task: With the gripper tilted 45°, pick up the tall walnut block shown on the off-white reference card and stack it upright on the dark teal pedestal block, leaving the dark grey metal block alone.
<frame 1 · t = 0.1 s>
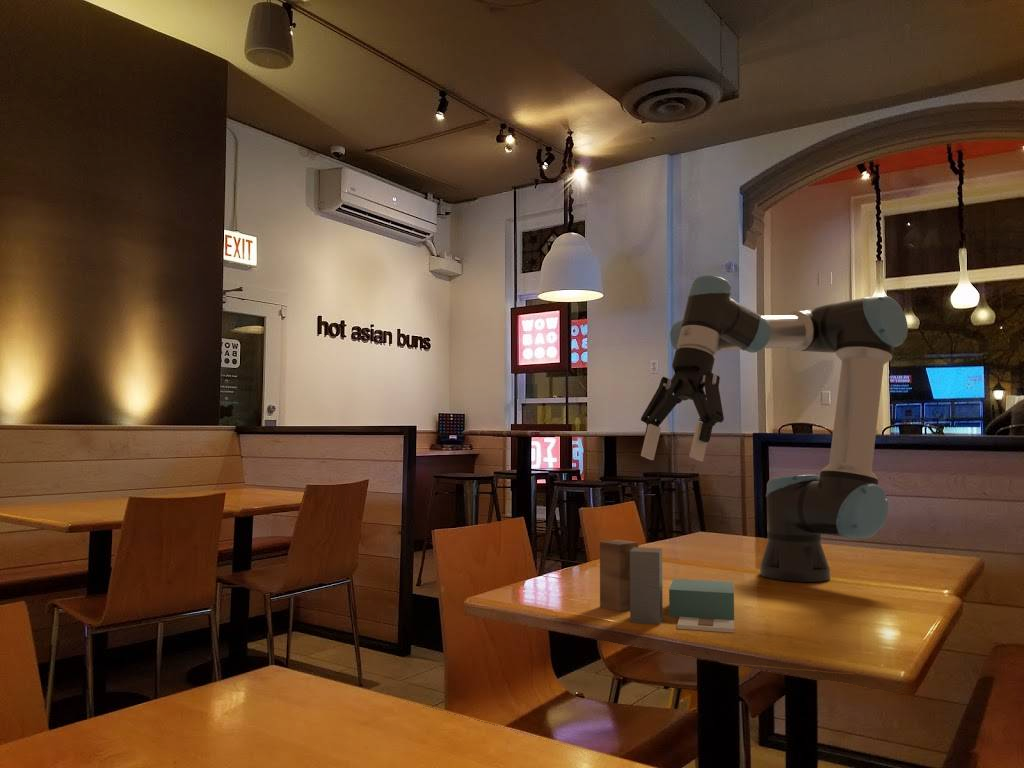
hand: (670, 458, 140), 28 cm above the table, tool tilted 20°, fingers open, 13 cm apart
grey metal block: (646, 620, 130), on the table
reference card: (706, 626, 126), on the table
teal pedestal: (702, 613, 137), on the table
walnut block: (619, 607, 140), on the table
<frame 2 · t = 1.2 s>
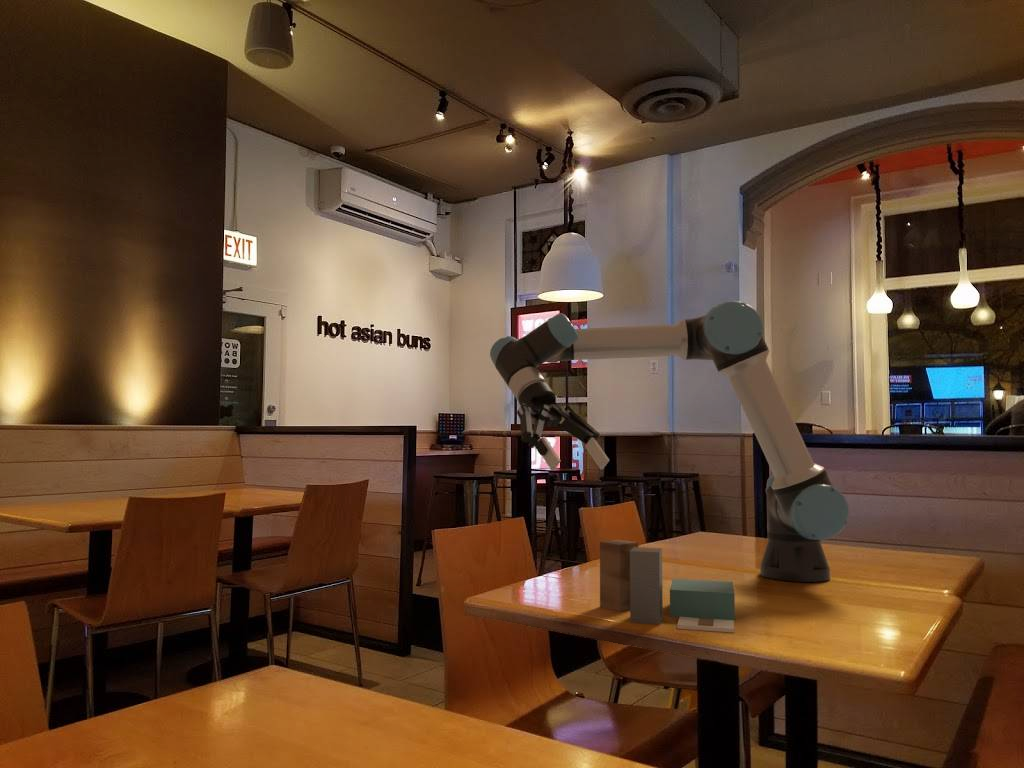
hand: (581, 465, 150), 26 cm above the table, tool tilted 45°, fingers open, 13 cm apart
nothing on the table moved.
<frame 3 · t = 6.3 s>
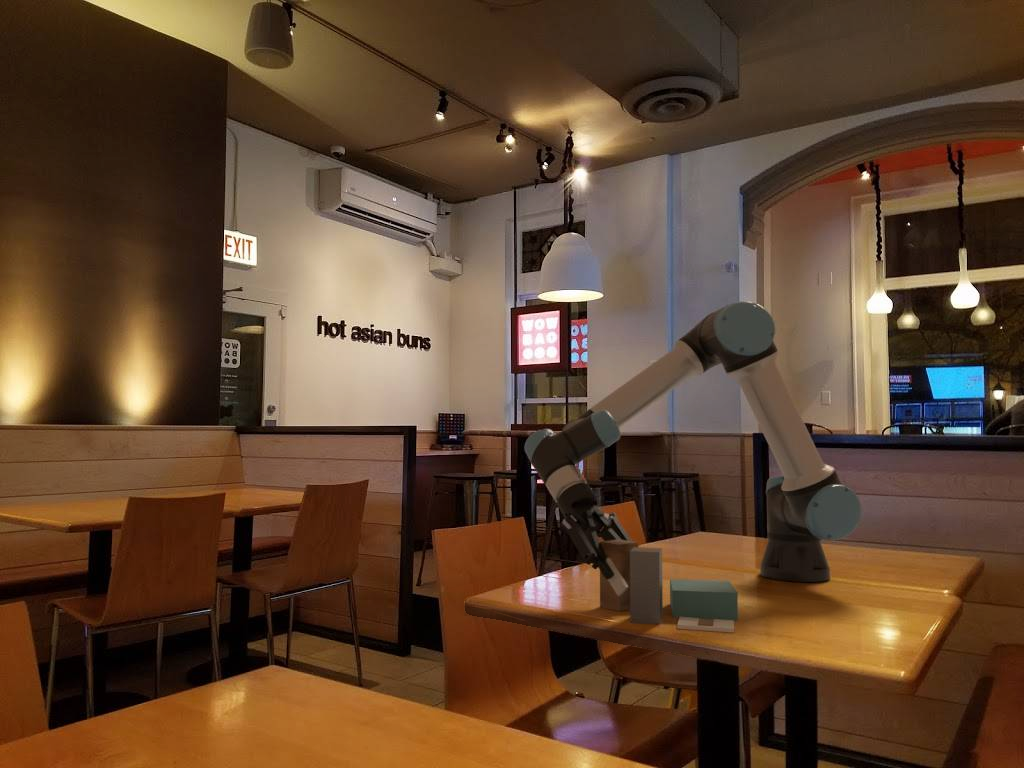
hand: (634, 589, 137), 4 cm above the table, tool tilted 45°, fingers closed on walnut block, 5 cm apart
walnut block: (619, 607, 140), on the table, touching gripper
everything else where it was.
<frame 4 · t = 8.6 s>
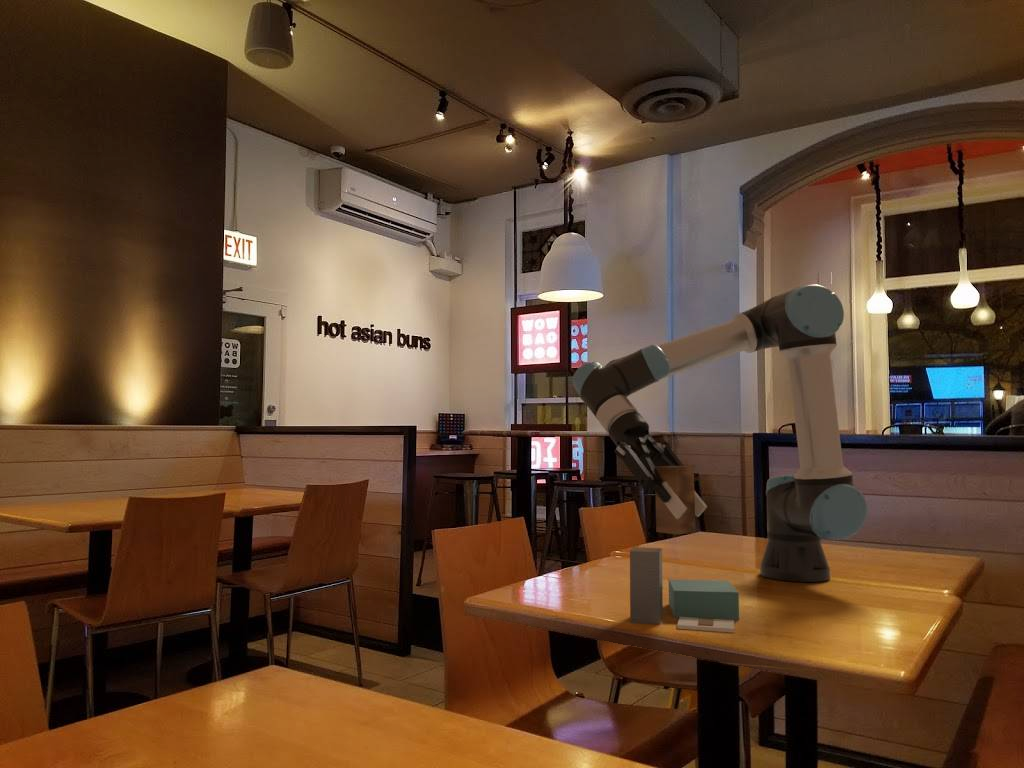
hand: (691, 512, 136), 18 cm above the table, tool tilted 45°, fingers closed on walnut block, 5 cm apart
walnut block: (675, 532, 138), point 14 cm above the table, touching gripper
everything else where it was.
when the fingers open (10 cm above the table, at t = 11.1 s): walnut block drops 2 cm, resting on teal pedestal.
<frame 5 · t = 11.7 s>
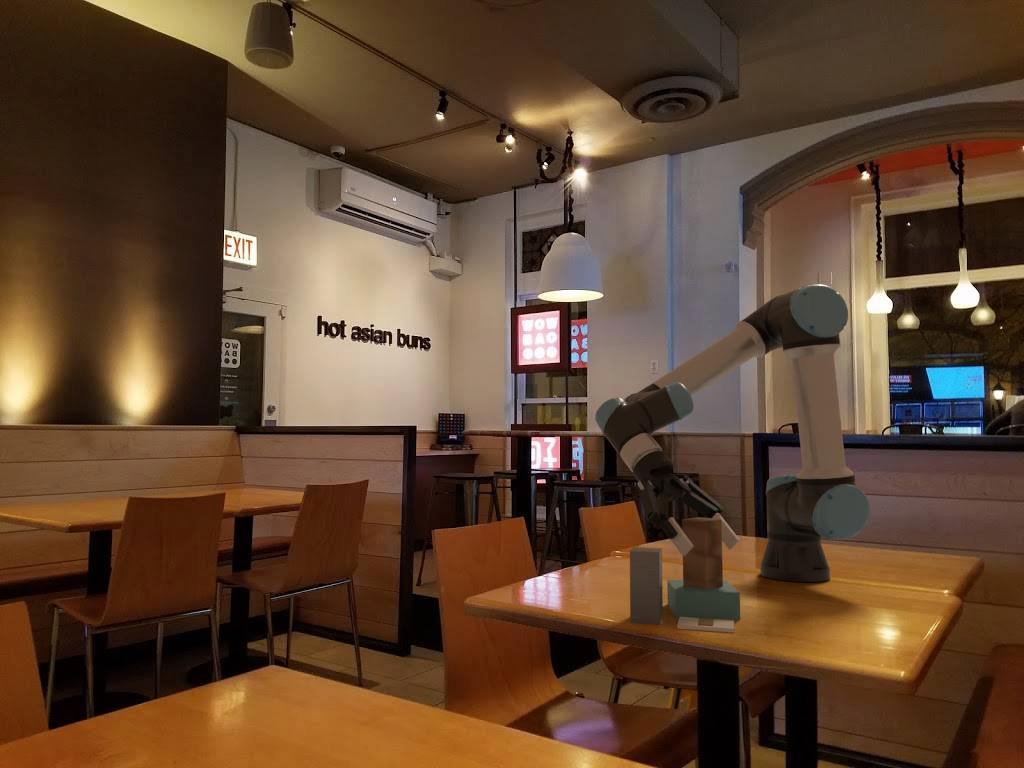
hand: (712, 548, 136), 12 cm above the table, tool tilted 45°, fingers open, 13 cm apart
teal pedestal: (702, 613, 136), on the table, touching walnut block
walnut block: (703, 585, 137), point 5 cm above the table, touching teal pedestal
everything else where it was.
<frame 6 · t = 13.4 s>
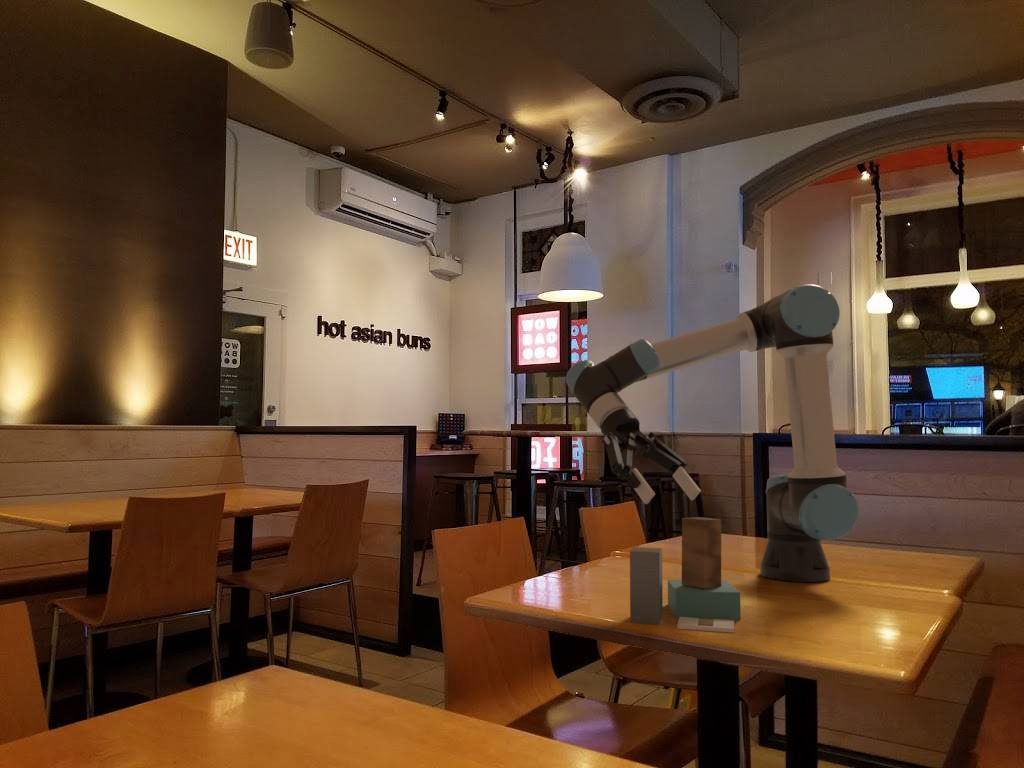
hand: (674, 497, 143), 20 cm above the table, tool tilted 45°, fingers open, 13 cm apart
nothing on the table moved.
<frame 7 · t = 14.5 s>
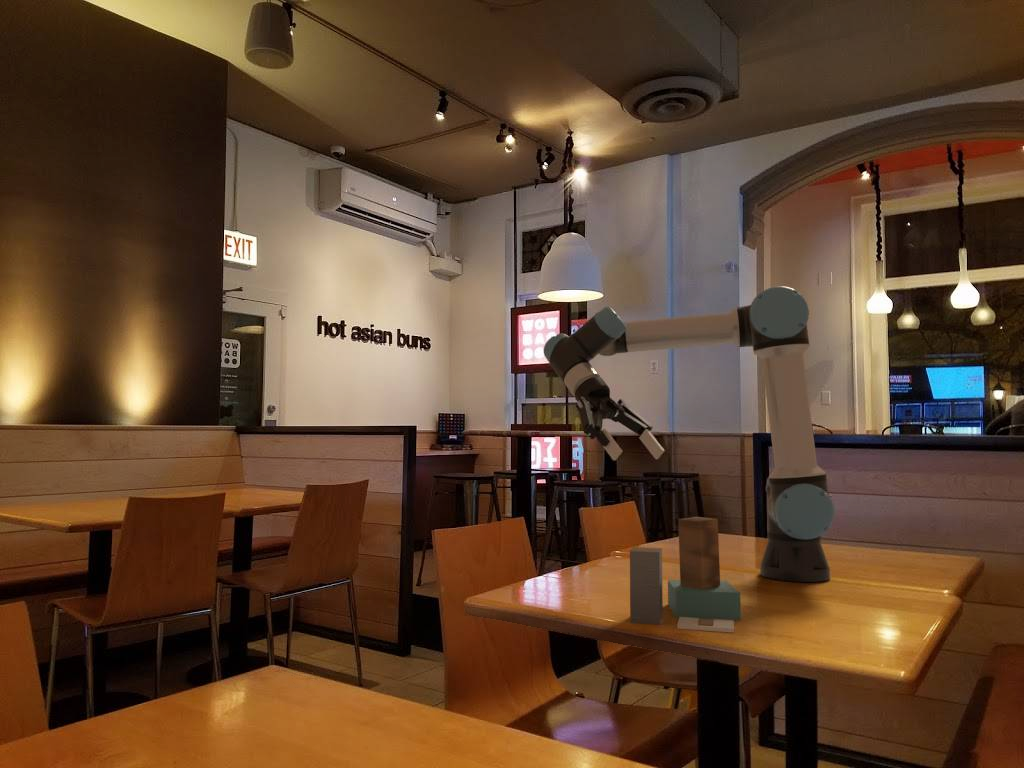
hand: (639, 455, 158), 28 cm above the table, tool tilted 45°, fingers open, 13 cm apart
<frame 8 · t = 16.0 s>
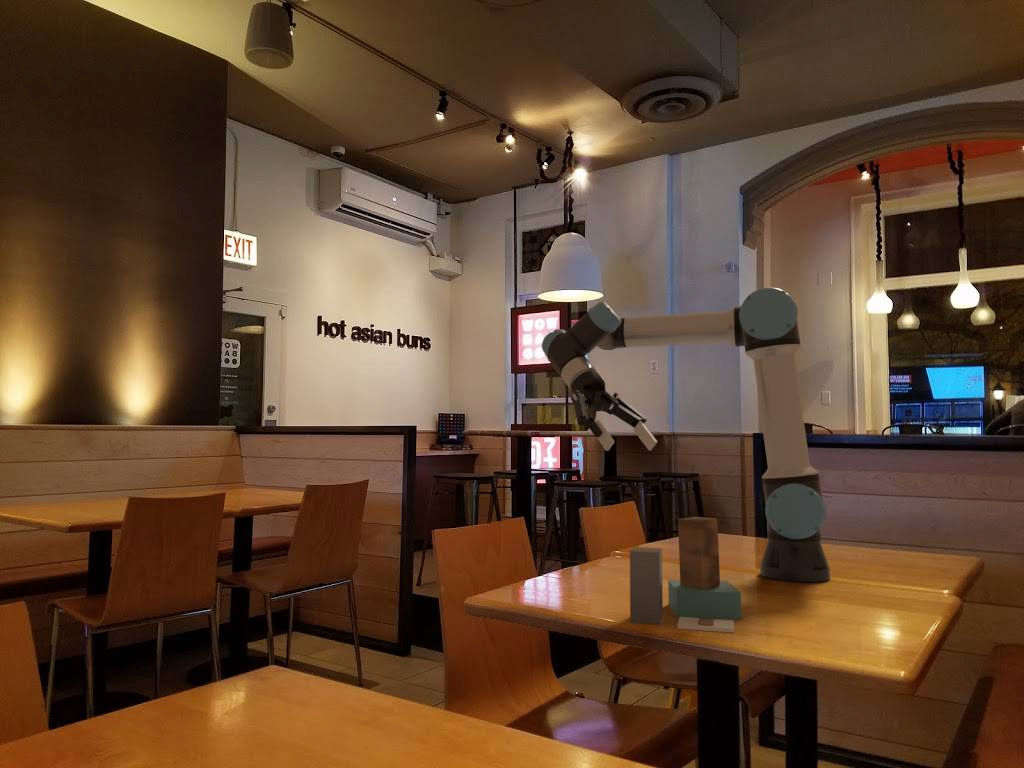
hand: (632, 446, 163), 30 cm above the table, tool tilted 45°, fingers open, 13 cm apart
teal pedestal: (703, 613, 136), on the table
walnut block: (700, 585, 137), point 5 cm above the table
everything else where it was.
at the end: walnut block inside the target area on the teal pedestal (0.6 cm from its centre), point 5.1 cm above the teal pedestal's base; walnut block tilted 1°; grey metal block moved 0.0 cm from its start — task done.
